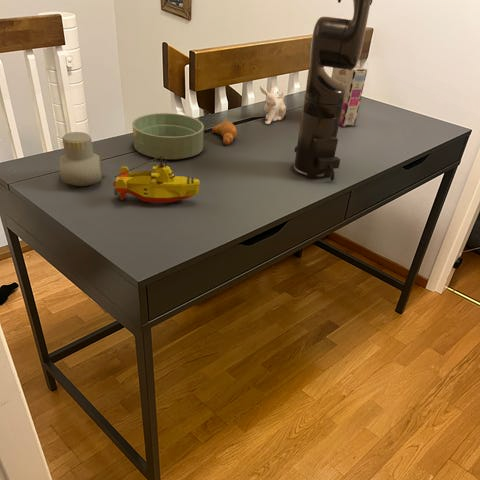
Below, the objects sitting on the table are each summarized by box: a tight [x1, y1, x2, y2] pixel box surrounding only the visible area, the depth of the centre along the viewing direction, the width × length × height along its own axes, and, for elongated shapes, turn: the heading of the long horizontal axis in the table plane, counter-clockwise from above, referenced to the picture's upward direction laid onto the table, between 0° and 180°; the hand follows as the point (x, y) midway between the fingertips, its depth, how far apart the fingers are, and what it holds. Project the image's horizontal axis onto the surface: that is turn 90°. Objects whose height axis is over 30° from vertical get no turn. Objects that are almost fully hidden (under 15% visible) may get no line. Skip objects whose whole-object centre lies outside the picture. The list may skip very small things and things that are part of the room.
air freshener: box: [59, 131, 103, 187], centre depth 103 cm, size 11×8×10 cm
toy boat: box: [112, 155, 201, 204], centre depth 99 cm, size 6×18×10 cm, turn 93°
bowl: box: [131, 112, 205, 160], centre depth 123 cm, size 18×18×6 cm
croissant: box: [211, 120, 238, 146], centre depth 132 cm, size 5×11×4 cm, turn 21°
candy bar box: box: [331, 65, 368, 128], centre depth 148 cm, size 11×5×16 cm, turn 25°
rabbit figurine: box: [259, 83, 287, 125], centre depth 147 cm, size 12×8×10 cm, turn 138°
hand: (353, 3), depth 142 cm, fingers open, 8 cm apart
